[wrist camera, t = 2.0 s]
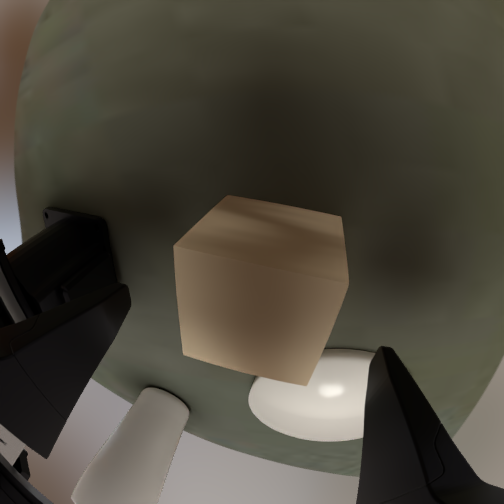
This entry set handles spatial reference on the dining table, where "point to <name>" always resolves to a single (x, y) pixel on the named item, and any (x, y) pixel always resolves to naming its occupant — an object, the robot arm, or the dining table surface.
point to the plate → (317, 399)
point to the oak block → (260, 287)
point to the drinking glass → (135, 453)
